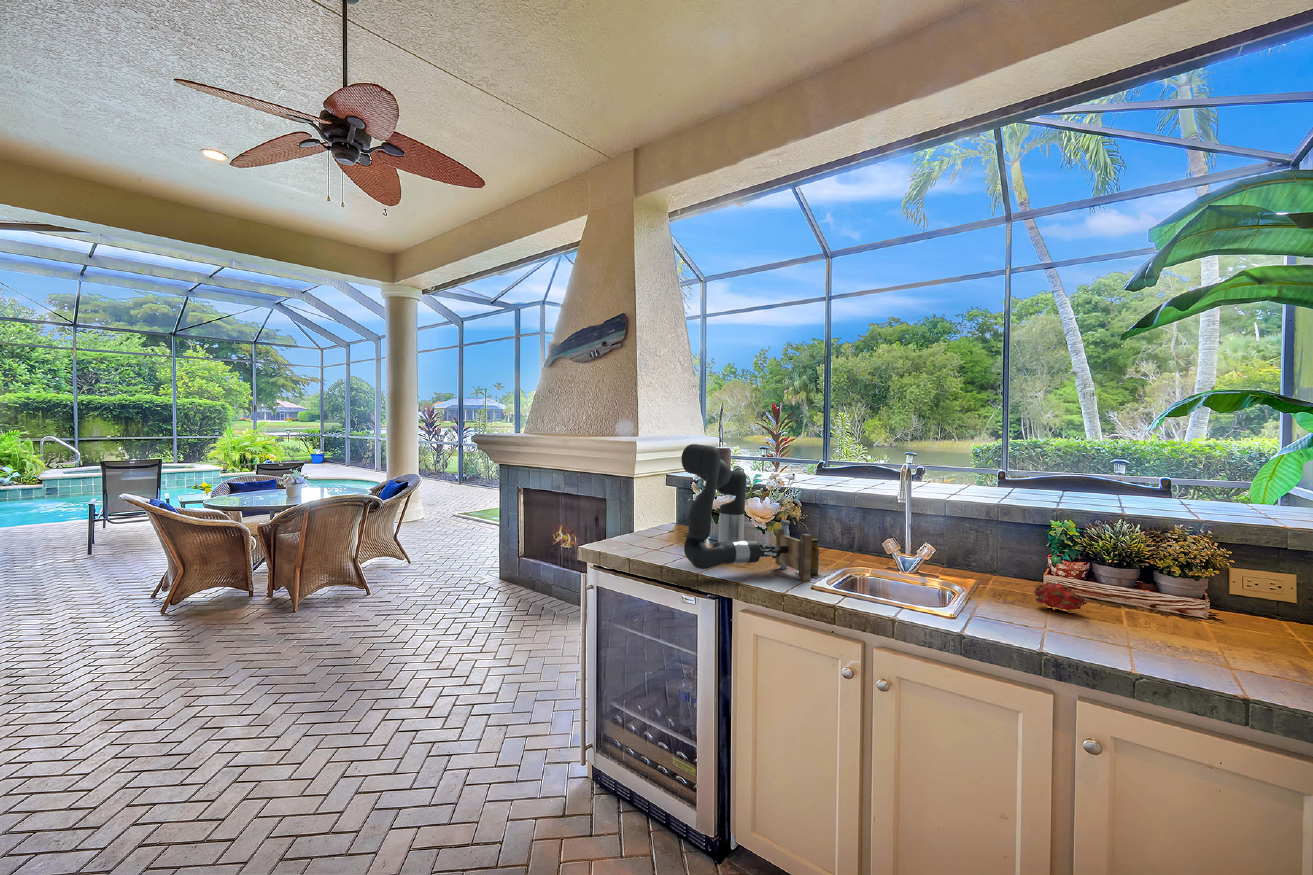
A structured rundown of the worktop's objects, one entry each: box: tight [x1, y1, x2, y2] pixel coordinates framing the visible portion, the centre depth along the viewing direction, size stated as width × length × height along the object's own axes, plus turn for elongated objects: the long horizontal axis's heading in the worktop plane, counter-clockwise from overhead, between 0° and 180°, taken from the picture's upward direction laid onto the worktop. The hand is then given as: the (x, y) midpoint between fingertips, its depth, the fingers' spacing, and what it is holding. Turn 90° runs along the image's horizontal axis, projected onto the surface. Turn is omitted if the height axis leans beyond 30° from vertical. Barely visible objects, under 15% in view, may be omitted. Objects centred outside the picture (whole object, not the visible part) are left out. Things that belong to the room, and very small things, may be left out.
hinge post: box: [799, 533, 813, 583], centre depth 171 cm, size 2×2×15 cm
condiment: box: [794, 537, 828, 579], centre depth 179 cm, size 7×8×12 cm
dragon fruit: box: [1033, 581, 1088, 611], centre depth 148 cm, size 8×8×12 cm
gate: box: [775, 528, 801, 577], centre depth 179 cm, size 14×2×13 cm, turn 20°
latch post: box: [779, 519, 791, 570], centre depth 186 cm, size 3×3×17 cm
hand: (786, 549), depth 180 cm, fingers closed
